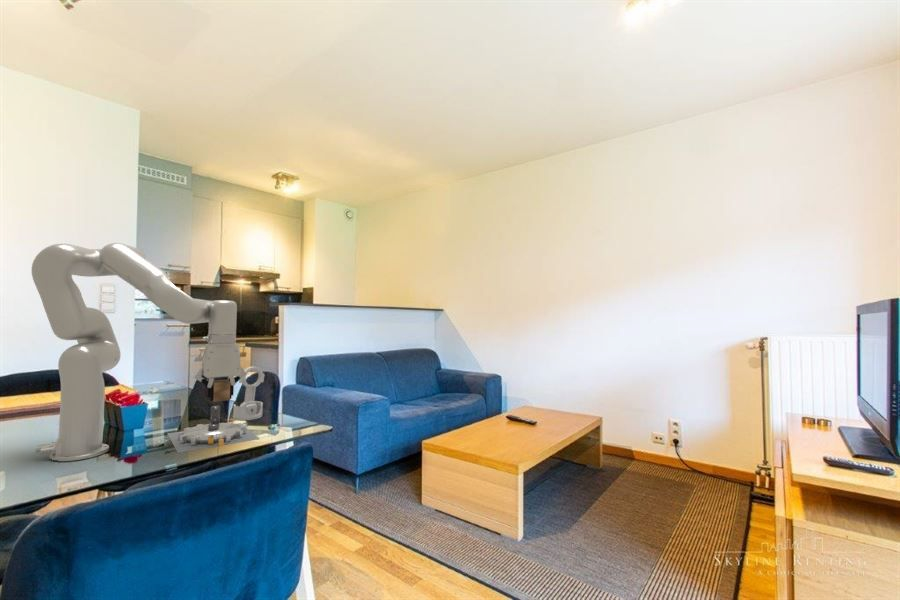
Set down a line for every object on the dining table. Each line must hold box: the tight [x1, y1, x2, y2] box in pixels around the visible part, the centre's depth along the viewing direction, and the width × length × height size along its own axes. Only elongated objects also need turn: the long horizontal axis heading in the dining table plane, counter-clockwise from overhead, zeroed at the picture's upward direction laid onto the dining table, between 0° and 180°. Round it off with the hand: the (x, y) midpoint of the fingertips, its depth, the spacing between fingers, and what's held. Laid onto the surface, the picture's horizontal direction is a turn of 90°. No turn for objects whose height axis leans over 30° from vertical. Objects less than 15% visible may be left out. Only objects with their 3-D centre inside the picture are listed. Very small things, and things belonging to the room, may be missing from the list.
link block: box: [212, 379, 231, 403], centre depth 129 cm, size 4×4×6 cm
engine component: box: [232, 365, 265, 421], centre depth 159 cm, size 11×20×10 cm
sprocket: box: [178, 405, 247, 445], centre depth 134 cm, size 19×19×8 cm
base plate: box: [166, 422, 260, 454], centre depth 134 cm, size 22×23×3 cm
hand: (220, 398), depth 129 cm, fingers closed on link block, 4 cm apart
